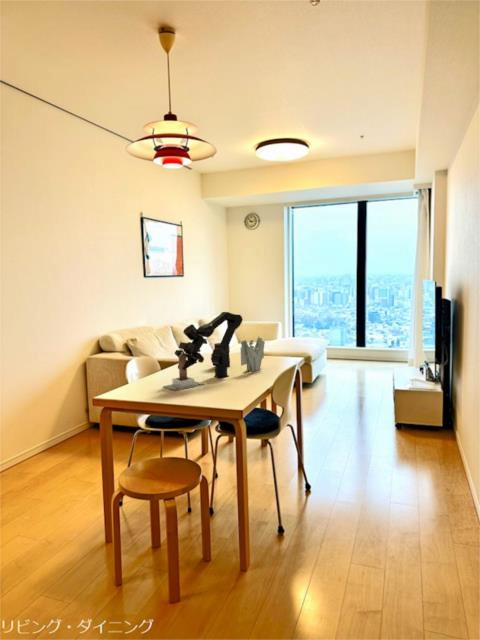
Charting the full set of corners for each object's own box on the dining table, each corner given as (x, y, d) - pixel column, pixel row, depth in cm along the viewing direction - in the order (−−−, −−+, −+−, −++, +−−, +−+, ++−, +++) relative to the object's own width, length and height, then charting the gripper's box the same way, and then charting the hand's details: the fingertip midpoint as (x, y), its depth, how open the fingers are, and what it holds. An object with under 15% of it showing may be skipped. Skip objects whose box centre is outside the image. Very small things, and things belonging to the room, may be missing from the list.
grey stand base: (191, 381, 246) (190, 374, 246) (203, 384, 237) (203, 377, 236) (163, 387, 234) (162, 379, 234) (175, 391, 225) (174, 383, 225)
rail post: (184, 380, 238) (182, 354, 237) (188, 381, 235) (187, 355, 234) (178, 381, 235) (176, 355, 234) (182, 382, 233) (181, 356, 231)
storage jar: (212, 368, 282) (211, 344, 281) (217, 365, 292) (217, 342, 290) (227, 368, 280) (226, 345, 278) (232, 365, 289) (231, 342, 288)
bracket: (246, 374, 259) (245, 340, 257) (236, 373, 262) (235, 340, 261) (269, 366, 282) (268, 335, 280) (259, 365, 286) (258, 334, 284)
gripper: (176, 335, 243) (160, 358, 236) (198, 337, 230) (183, 361, 223) (187, 347, 249) (173, 370, 242) (210, 350, 236) (195, 374, 229)
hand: (180, 368), depth 234 cm, fingers closed on rail post, 4 cm apart
